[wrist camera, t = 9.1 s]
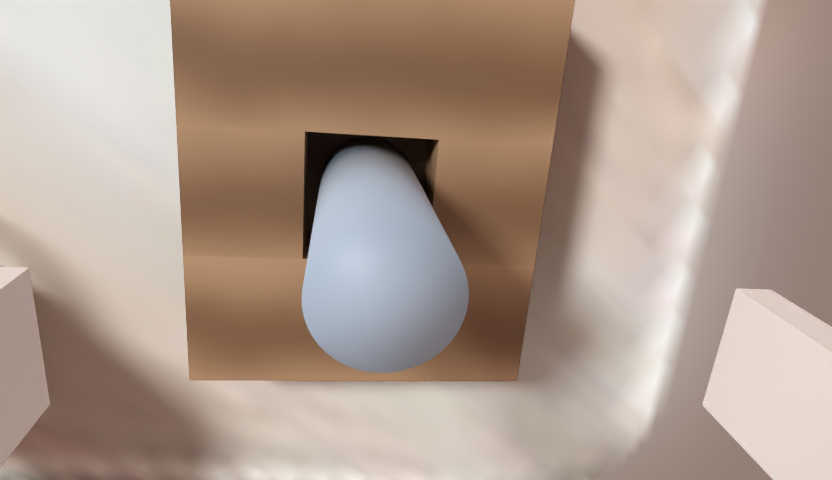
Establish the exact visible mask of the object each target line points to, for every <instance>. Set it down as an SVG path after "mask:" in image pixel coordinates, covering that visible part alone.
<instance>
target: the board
mask: <svg viewBox="0 0 832 480" xmlns="http://www.w3.org/2000/svg"><path fill="white" fill-rule="evenodd" d="M574 4H575V0H170V7H171V26H172V46H173V66H174V85H175V105H176V125H177V144H178V164H179V184H180V203H181V223H182V243H183V262H184V282H185V302H186V321H187V341H188V361H189V380H285V381H517V377H518V370H519V364H520V357H521V350H522V344H523V337H524V331H525V324H526V318H527V311H528V305H529V298H530V292H531V285H532V278H533V272H534V265H535V259H536V252H537V246H538V239H539V233H540V226H541V220H542V213H543V206H544V200H545V193H546V187H547V180H548V174H549V167H550V161H551V154H552V148H553V141H554V134H555V128H556V121H557V115H558V108H559V102H560V95H561V89H562V82H563V76H564V69H565V62H566V56H567V49H568V43H569V36H570V30H571V23H572V17H573V10H574ZM359 137H376V138H380V139H383V140H386V141H388V142H390V143H392V144H393V145H395V146H396V147H397V148H398V149H399V150H400V151H401V152H402V153H403V154H404V155H405V156H406V158H407V160H408V161H409V163H410V165H411V167H412V169H413V171H414V173H415V175H416V177H417V179H418V180H419V182H420V184H421V186H422V188H423V190H424V192H425V194H426V196H427V198H428V200H429V202H430V203H431V205H432V207H433V209H434V211H435V213H436V215H437V217H438V219H439V221H440V223H441V224H442V226H443V228H444V230H445V232H446V234H447V236H448V238H449V240H450V242H451V244H452V245H453V247H454V249H455V251H456V253H457V255H458V257H459V259H460V261H461V263H462V265H463V268H464V270H465V273H466V277H467V281H468V289H469V300H468V307H467V312H466V315H465V318H464V321H463V323H462V325H461V327H460V329H459V331H458V332H457V334H456V335H455V337H454V338H453V340H452V341H451V342H450V343H449V344H448V345H447V346H446V347H445V348H444V349H443V350H442V351H441V352H440V353H439V354H437V355H436V356H434V357H433V358H432V359H430V360H428V361H426V362H425V363H423V364H421V365H418V366H416V367H413V368H410V369H407V370H403V371H398V372H391V373H373V372H366V371H361V370H358V369H354V368H351V367H349V366H347V365H344V364H342V363H340V362H339V361H337V360H335V359H334V358H332V357H331V356H330V355H329V354H327V353H326V352H325V351H324V350H323V349H322V348H321V347H320V346H319V345H318V344H317V342H316V341H315V340H314V338H313V337H312V335H311V333H310V331H309V329H308V327H307V325H306V322H305V319H304V315H303V310H302V288H303V282H304V276H305V270H306V264H307V258H308V252H309V246H310V240H311V234H312V228H313V222H314V216H315V210H316V204H317V199H318V193H319V187H320V181H321V175H322V170H323V167H324V165H325V162H326V161H327V159H328V157H329V156H330V154H331V153H332V152H333V151H334V150H335V149H336V148H337V147H339V146H340V145H341V144H343V143H345V142H347V141H349V140H351V139H355V138H359Z"/></svg>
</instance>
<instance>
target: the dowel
mask: <svg viewBox="0 0 832 480" xmlns="http://www.w3.org/2000/svg"><path fill="white" fill-rule="evenodd" d="M468 300H469V289H468V281H467V277H466V273H465V270H464V268H463V265H462V263H461V261H460V259H459V257H458V255H457V253H456V251H455V249H454V247H453V245H452V244H451V242H450V240H449V238H448V236H447V234H446V232H445V230H444V228H443V226H442V224H441V223H440V221H439V219H438V217H437V215H436V213H435V211H434V209H433V207H432V205H431V203H430V202H429V200H428V198H427V196H426V194H425V192H424V190H423V188H422V186H421V184H420V182H419V180H418V179H417V177H416V175H415V173H414V171H413V169H412V167H411V165H410V163H409V161H408V160H407V158H406V156H405V155H404V154H403V153H402V152H401V151H400V150H399V149H398V148H397V147H396V146H395V145H393V144H392V143H390V142H388V141H386V140H383V139H380V138H376V137H359V138H355V139H351V140H349V141H347V142H345V143H343V144H341V145H340V146H339V147H337V148H336V149H335V150H334V151H333V152H332V153H331V154H330V156H329V157H328V159H327V161H326V162H325V165H324V167H323V170H322V175H321V181H320V187H319V193H318V199H317V204H316V210H315V216H314V222H313V228H312V234H311V240H310V246H309V252H308V258H307V264H306V270H305V276H304V282H303V288H302V310H303V315H304V319H305V322H306V325H307V327H308V329H309V331H310V333H311V335H312V337H313V338H314V340H315V341H316V342H317V344H318V345H319V346H320V347H321V348H322V349H323V350H324V351H325V352H326V353H327V354H329V355H330V356H331V357H332V358H334V359H335V360H337V361H339V362H340V363H342V364H344V365H347V366H349V367H351V368H354V369H358V370H361V371H366V372H373V373H391V372H398V371H403V370H407V369H410V368H413V367H416V366H418V365H421V364H423V363H425V362H426V361H428V360H430V359H432V358H433V357H434V356H436V355H437V354H439V353H440V352H441V351H442V350H443V349H444V348H445V347H446V346H447V345H448V344H449V343H450V342H451V341H452V340H453V338H454V337H455V335H456V334H457V332H458V331H459V329H460V327H461V325H462V323H463V321H464V318H465V315H466V312H467V307H468Z"/></svg>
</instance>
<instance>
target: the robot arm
mask: <svg viewBox="0 0 832 480" xmlns="http://www.w3.org/2000/svg"><path fill="white" fill-rule="evenodd" d="M49 405H50V400H49V393H48V387H47V380H46V374H45V367H44V361H43V354H42V348H41V341H40V335H39V328H38V322H37V315H36V309H35V302H34V295H33V289H32V282H31V276H30V269H29V268H24V267H0V467H1V466H2V465H3V464H4V462H5V461H6V460H7V459H8V457H9V456H10V455H11V453H12V452H13V451H14V450H15V448H16V447H17V446H18V445H19V443H20V442H21V441H22V439H23V438H24V437H25V436H26V434H27V433H28V432H29V431H30V429H31V428H32V427H33V426H34V424H35V423H36V422H37V420H38V419H39V418H40V417H41V415H42V414H43V413H44V412H45V410H46V409H47V408H48V407H49ZM703 406H704V407H705V408H706V409H707V410H708V411H709V412H710V413H711V415H712V416H713V417H714V418H715V419H716V420H717V421H718V422H719V423H720V424H721V425H722V426H723V427H724V428H725V429H726V430H727V431H728V433H729V434H730V435H731V436H732V437H733V438H734V439H735V440H736V441H737V442H738V443H739V444H740V445H741V446H742V447H743V448H744V450H745V451H746V452H747V453H748V454H749V455H750V456H751V457H752V458H753V459H754V460H755V461H756V462H757V463H758V464H759V465H760V466H761V467H762V469H764V471H765V472H766V473H767V474H768V475H769V476H770V477H771V478H772V479H773V480H832V327H831V326H829V325H828V324H826V323H824V322H823V321H821V320H819V319H818V318H816V317H815V316H813V315H811V314H810V313H808V312H806V311H805V310H803V309H802V308H800V307H798V306H797V305H795V304H793V303H792V302H790V301H789V300H787V299H785V298H783V297H782V296H780V295H779V294H777V293H776V292H774V291H772V290H766V289H736V291H735V294H734V298H733V302H732V305H731V308H730V312H729V315H728V319H727V322H726V326H725V329H724V333H723V336H722V339H721V343H720V346H719V350H718V353H717V356H716V360H715V363H714V367H713V370H712V374H711V377H710V381H709V384H708V387H707V391H706V395H705V398H704V401H703Z"/></svg>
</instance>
